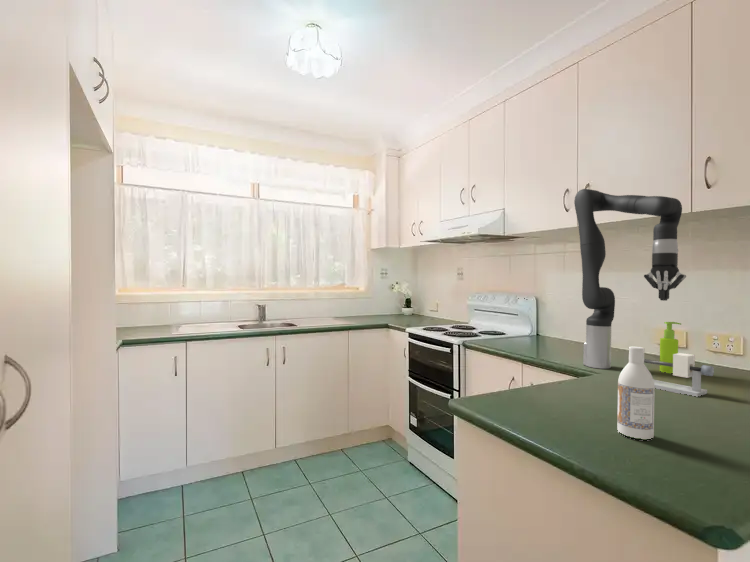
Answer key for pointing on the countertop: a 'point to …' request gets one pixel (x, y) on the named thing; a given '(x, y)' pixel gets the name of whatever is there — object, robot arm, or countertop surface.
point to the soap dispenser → (668, 347)
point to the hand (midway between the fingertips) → (663, 300)
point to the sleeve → (683, 364)
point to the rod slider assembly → (682, 389)
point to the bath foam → (636, 397)
